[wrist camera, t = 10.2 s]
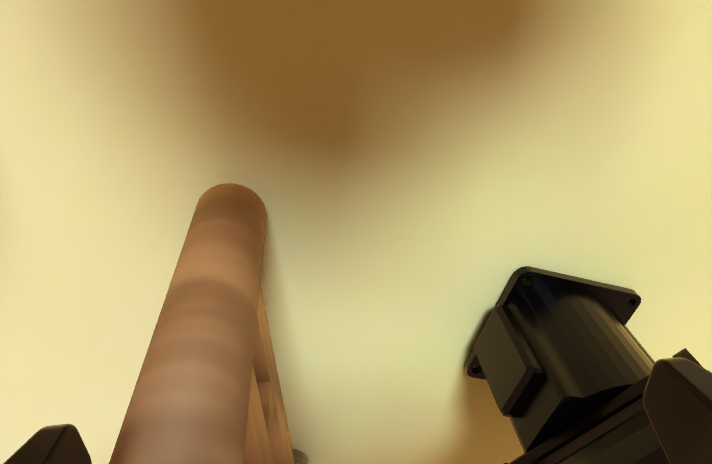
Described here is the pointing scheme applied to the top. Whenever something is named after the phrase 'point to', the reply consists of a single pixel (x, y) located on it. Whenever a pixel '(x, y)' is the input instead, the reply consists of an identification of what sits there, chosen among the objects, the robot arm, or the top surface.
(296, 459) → the hinge post
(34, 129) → the top surface
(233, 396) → the gate
